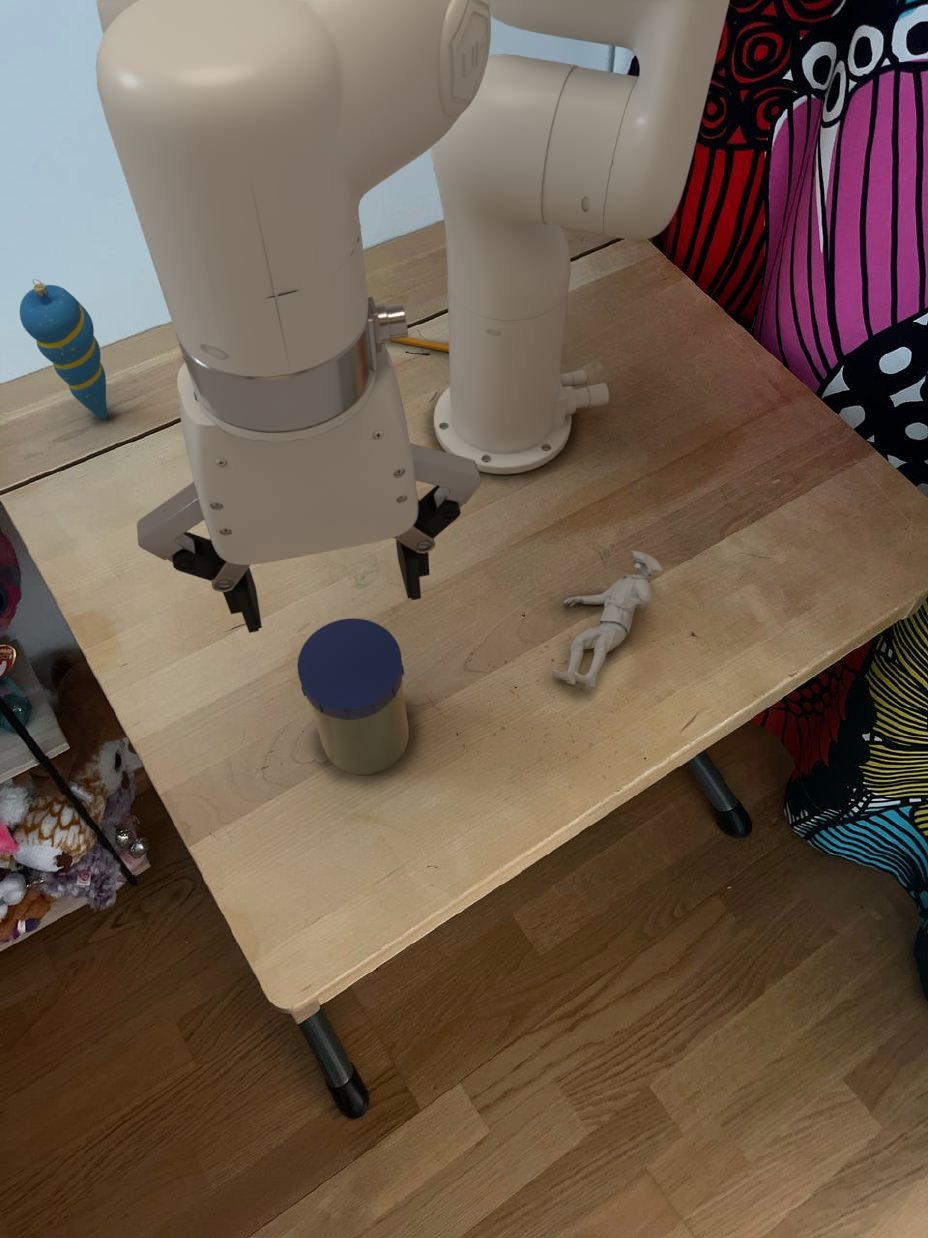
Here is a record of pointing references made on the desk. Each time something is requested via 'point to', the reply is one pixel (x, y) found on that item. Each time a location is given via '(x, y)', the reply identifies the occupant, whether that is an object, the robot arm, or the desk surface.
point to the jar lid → (350, 668)
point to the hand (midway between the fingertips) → (331, 594)
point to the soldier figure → (610, 619)
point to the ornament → (67, 342)
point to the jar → (365, 738)
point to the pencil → (423, 343)
